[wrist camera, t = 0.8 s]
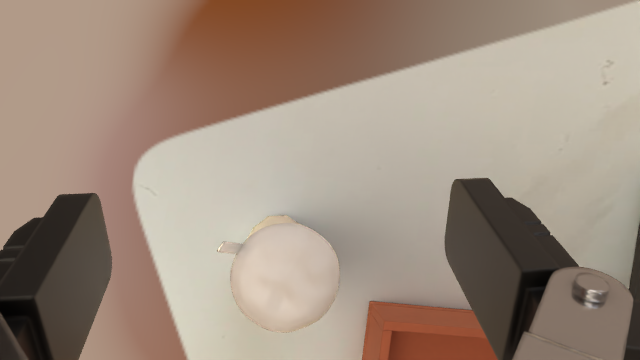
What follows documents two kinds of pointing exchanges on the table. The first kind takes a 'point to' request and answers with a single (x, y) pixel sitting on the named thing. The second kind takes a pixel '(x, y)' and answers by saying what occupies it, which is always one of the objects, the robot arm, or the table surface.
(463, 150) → the table surface
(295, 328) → the milkshake
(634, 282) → the grey bin
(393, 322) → the terracotta bin
